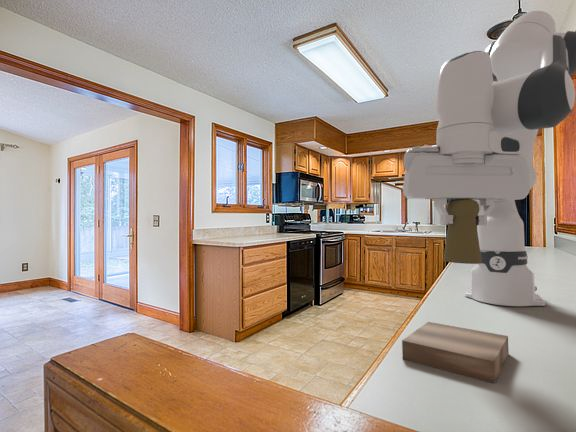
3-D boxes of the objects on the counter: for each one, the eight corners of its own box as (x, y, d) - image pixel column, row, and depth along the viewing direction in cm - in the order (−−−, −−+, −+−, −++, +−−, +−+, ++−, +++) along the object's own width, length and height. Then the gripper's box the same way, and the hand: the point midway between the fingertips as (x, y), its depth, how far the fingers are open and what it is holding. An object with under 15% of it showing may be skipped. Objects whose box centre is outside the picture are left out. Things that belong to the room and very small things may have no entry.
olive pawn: (470, 264, 52) (471, 197, 52) (436, 260, 57) (436, 199, 57) (488, 262, 56) (489, 199, 56) (454, 258, 61) (454, 200, 61)
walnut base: (428, 337, 63) (428, 321, 63) (508, 353, 54) (507, 336, 54) (402, 358, 53) (402, 340, 53) (495, 383, 44) (494, 361, 44)
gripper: (409, 142, 54) (408, 224, 54) (536, 142, 53) (536, 226, 52) (398, 150, 60) (397, 224, 60) (511, 150, 59) (511, 226, 59)
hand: (463, 225), depth 56 cm, fingers closed on olive pawn, 4 cm apart
